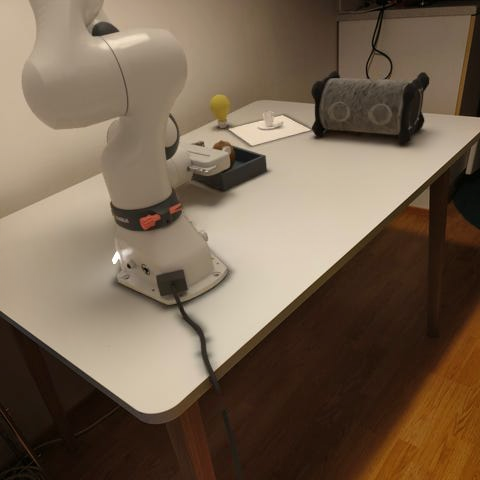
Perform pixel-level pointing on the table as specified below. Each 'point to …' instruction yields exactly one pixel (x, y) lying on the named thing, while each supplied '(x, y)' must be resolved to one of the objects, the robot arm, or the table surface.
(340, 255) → the table surface
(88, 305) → the table surface
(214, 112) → the light bulb
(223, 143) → the fruit
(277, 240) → the table surface
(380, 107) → the speaker
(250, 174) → the tub
